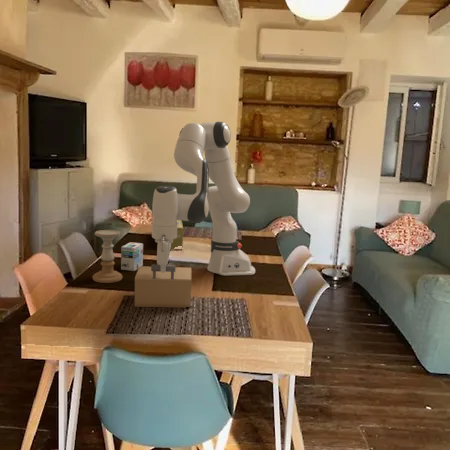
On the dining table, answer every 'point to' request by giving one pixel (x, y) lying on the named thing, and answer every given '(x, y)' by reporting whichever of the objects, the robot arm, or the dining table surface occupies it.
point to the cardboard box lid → (170, 274)
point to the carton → (162, 293)
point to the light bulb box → (131, 256)
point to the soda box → (178, 236)
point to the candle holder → (107, 258)
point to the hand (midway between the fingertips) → (163, 270)
